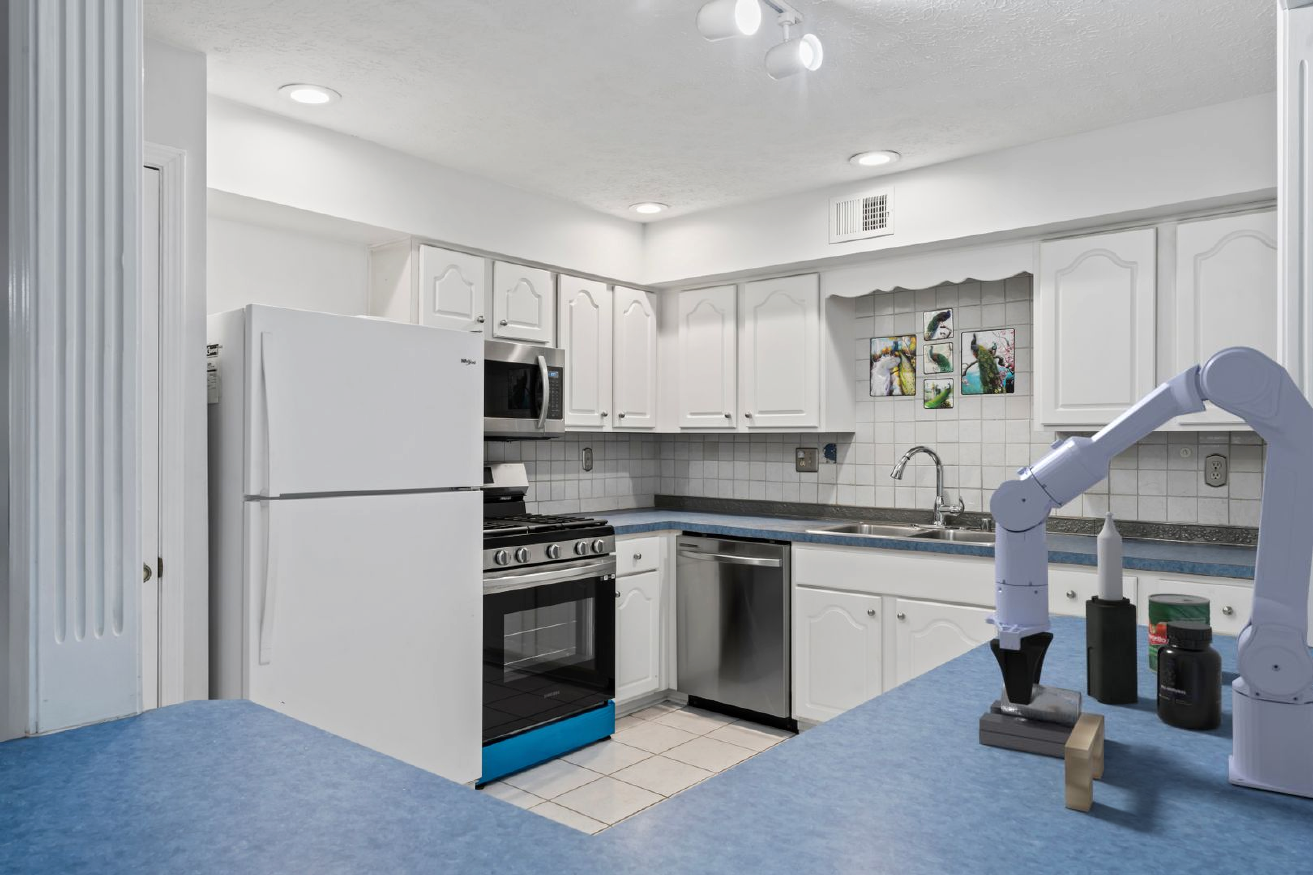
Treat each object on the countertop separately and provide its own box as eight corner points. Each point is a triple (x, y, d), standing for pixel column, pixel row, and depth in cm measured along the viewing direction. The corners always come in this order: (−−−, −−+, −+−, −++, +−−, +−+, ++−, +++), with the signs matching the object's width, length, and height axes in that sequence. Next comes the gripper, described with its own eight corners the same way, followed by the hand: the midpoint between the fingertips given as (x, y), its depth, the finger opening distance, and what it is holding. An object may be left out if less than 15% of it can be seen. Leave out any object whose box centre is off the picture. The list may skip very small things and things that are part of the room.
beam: (1103, 769, 91) (1103, 714, 91) (1088, 811, 81) (1087, 750, 81) (1082, 766, 92) (1082, 711, 92) (1065, 807, 82) (1064, 746, 82)
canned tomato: (1136, 669, 130) (1135, 595, 130) (1171, 662, 133) (1170, 591, 133) (1188, 682, 122) (1187, 605, 122) (1223, 675, 126) (1222, 599, 126)
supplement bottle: (1158, 726, 104) (1156, 627, 104) (1155, 710, 110) (1154, 616, 110) (1226, 735, 101) (1224, 632, 101) (1219, 718, 107) (1218, 621, 107)
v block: (1105, 738, 100) (1104, 715, 100) (1095, 763, 93) (1094, 738, 93) (996, 721, 107) (996, 699, 107) (979, 743, 100) (978, 719, 100)
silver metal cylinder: (1080, 725, 99) (1082, 689, 100) (1075, 730, 96) (1077, 694, 96) (1006, 710, 104) (1009, 676, 104) (999, 715, 100) (1002, 680, 101)
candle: (1141, 703, 113) (1138, 513, 113) (1102, 704, 113) (1099, 513, 113) (1121, 692, 118) (1118, 509, 118) (1083, 692, 118) (1081, 510, 118)
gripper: (999, 571, 109) (1000, 678, 109) (970, 588, 97) (972, 709, 97) (1059, 575, 105) (1061, 686, 105) (1038, 594, 93) (1040, 719, 93)
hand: (1023, 698), depth 101 cm, fingers closed on silver metal cylinder, 4 cm apart
